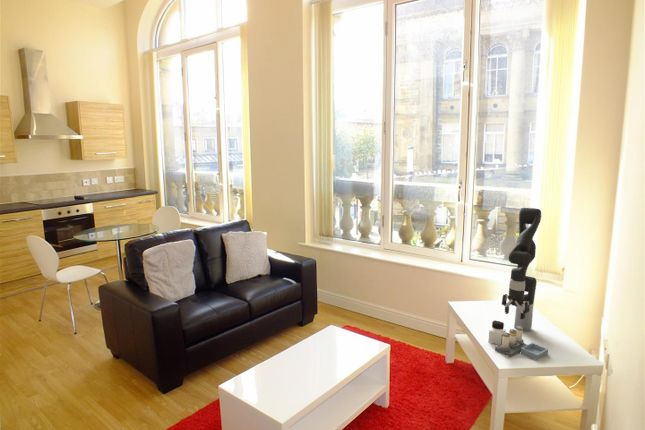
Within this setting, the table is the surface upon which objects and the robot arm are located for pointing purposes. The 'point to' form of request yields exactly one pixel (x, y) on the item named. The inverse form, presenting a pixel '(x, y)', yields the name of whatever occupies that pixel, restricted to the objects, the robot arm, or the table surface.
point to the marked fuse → (512, 337)
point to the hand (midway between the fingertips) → (514, 316)
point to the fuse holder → (510, 349)
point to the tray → (534, 351)
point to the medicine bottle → (496, 332)
